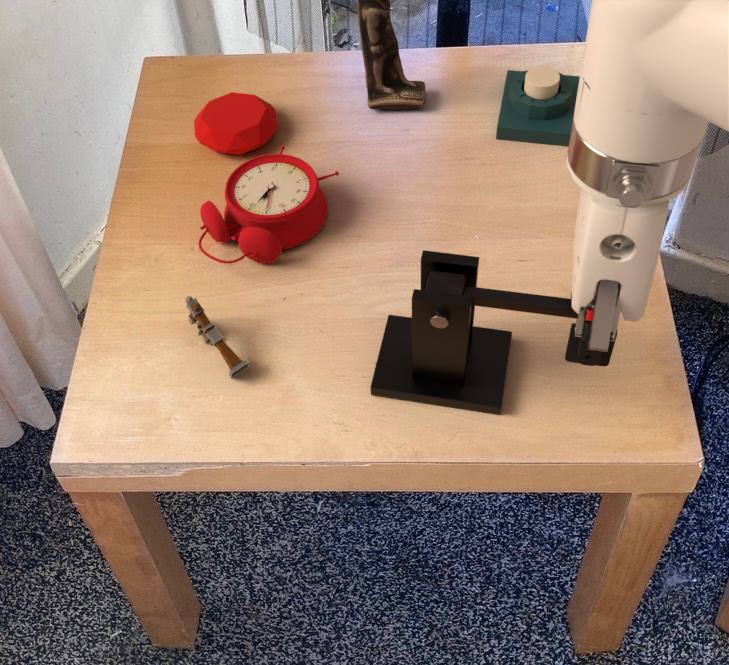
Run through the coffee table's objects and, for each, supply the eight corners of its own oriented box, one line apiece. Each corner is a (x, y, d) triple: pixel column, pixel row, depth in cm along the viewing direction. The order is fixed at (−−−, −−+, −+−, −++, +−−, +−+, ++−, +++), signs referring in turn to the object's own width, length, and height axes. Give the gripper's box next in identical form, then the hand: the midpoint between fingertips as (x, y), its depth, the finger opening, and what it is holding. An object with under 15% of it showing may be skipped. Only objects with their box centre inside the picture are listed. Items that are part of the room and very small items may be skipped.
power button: (559, 81, 92) (561, 67, 91) (556, 101, 90) (558, 88, 88) (525, 78, 93) (527, 64, 91) (522, 98, 90) (523, 85, 89)
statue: (425, 113, 95) (427, -62, 79) (362, 115, 95) (351, -59, 79) (425, 90, 97) (426, -84, 81) (363, 91, 98) (352, -82, 82)
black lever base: (511, 339, 75) (524, 247, 66) (500, 415, 71) (513, 328, 61) (388, 322, 77) (385, 231, 68) (370, 395, 72) (363, 308, 63)
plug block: (577, 88, 96) (582, 62, 93) (571, 146, 90) (576, 120, 87) (506, 82, 97) (508, 55, 95) (495, 139, 91) (498, 112, 89)
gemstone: (196, 114, 96) (190, 92, 94) (274, 103, 97) (271, 81, 95) (199, 167, 91) (193, 145, 89) (282, 155, 92) (278, 133, 89)
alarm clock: (353, 170, 84) (252, 236, 75) (348, 222, 88) (252, 291, 79) (272, 133, 88) (166, 191, 79) (271, 185, 92) (171, 246, 83)
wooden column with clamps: (194, 306, 78) (195, 288, 74) (245, 375, 77) (250, 361, 73) (177, 316, 77) (178, 298, 73) (228, 386, 76) (232, 372, 72)
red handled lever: (599, 297, 66) (604, 276, 64) (596, 348, 63) (601, 328, 61) (432, 276, 68) (432, 256, 67) (422, 324, 66) (421, 305, 64)
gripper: (699, 256, 46) (635, 432, 60) (695, 67, 56) (641, 256, 70) (558, 240, 47) (528, 416, 61) (578, 58, 57) (548, 246, 71)
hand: (588, 329), depth 66 cm, fingers closed on red handled lever, 5 cm apart
